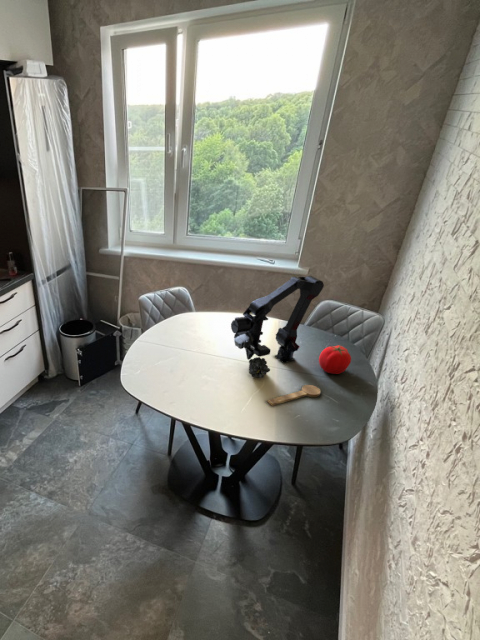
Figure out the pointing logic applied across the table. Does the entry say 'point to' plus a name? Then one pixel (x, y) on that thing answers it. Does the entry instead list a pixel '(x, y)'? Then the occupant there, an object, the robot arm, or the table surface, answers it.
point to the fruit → (258, 367)
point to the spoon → (297, 395)
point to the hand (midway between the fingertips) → (248, 359)
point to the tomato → (334, 359)
